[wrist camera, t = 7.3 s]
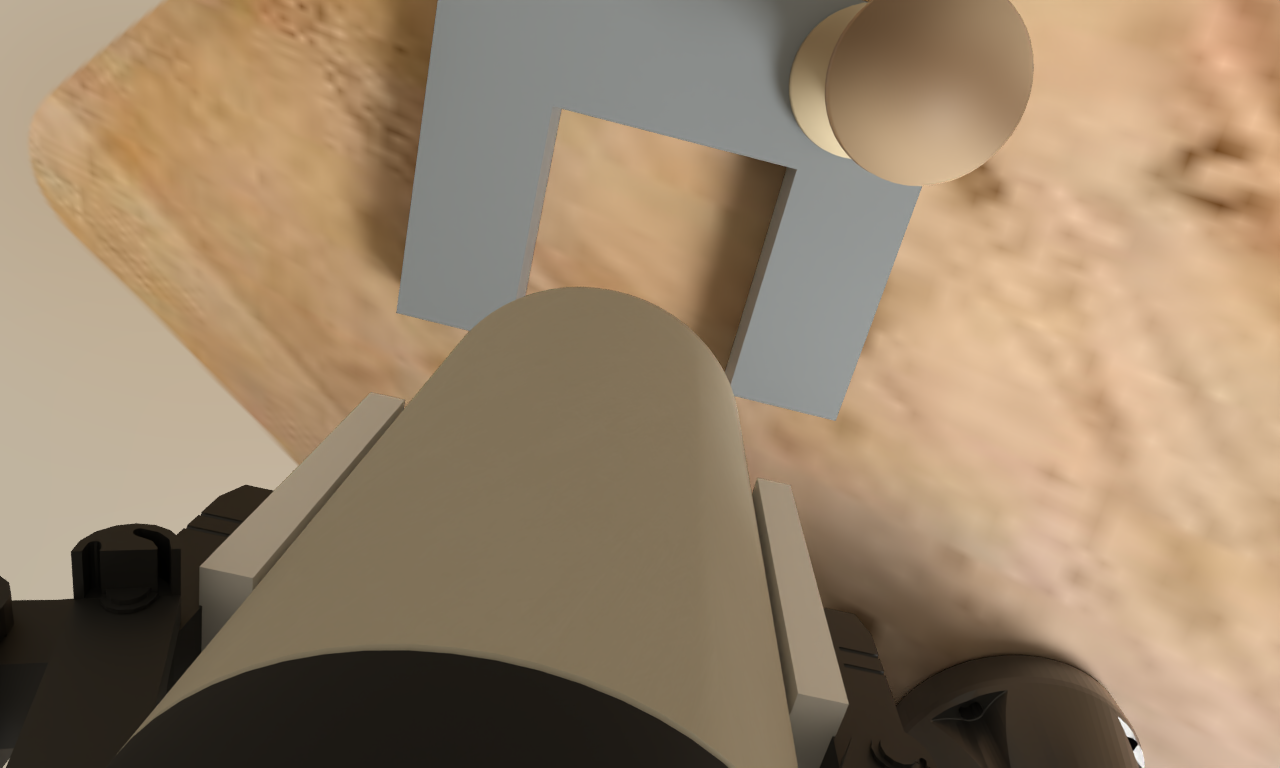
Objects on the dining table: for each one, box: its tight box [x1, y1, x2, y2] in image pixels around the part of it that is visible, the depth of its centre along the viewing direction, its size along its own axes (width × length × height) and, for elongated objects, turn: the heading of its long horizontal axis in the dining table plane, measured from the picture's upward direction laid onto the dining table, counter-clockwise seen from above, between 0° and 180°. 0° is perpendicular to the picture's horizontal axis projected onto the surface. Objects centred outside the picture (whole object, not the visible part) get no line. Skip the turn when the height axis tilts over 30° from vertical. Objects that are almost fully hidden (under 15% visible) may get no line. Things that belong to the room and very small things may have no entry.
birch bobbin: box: [789, 0, 1034, 186], centre depth 28 cm, size 6×6×10 cm
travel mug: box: [106, 287, 798, 768], centre depth 12 cm, size 8×8×18 cm
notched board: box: [396, 0, 922, 421], centre depth 36 cm, size 18×22×3 cm
